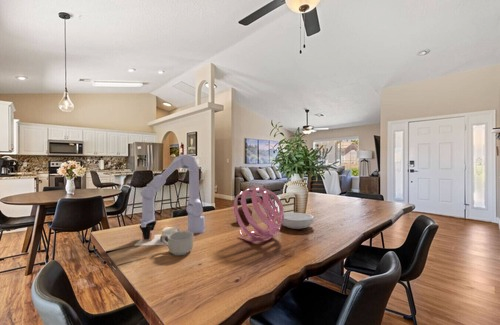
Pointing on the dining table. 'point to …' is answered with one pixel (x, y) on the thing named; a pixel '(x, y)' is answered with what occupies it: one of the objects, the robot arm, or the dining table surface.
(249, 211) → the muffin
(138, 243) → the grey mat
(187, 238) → the teacup
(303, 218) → the serving bowl
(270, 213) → the pink lattice sphere
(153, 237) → the terracotta block
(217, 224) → the dining table surface
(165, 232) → the cream block
